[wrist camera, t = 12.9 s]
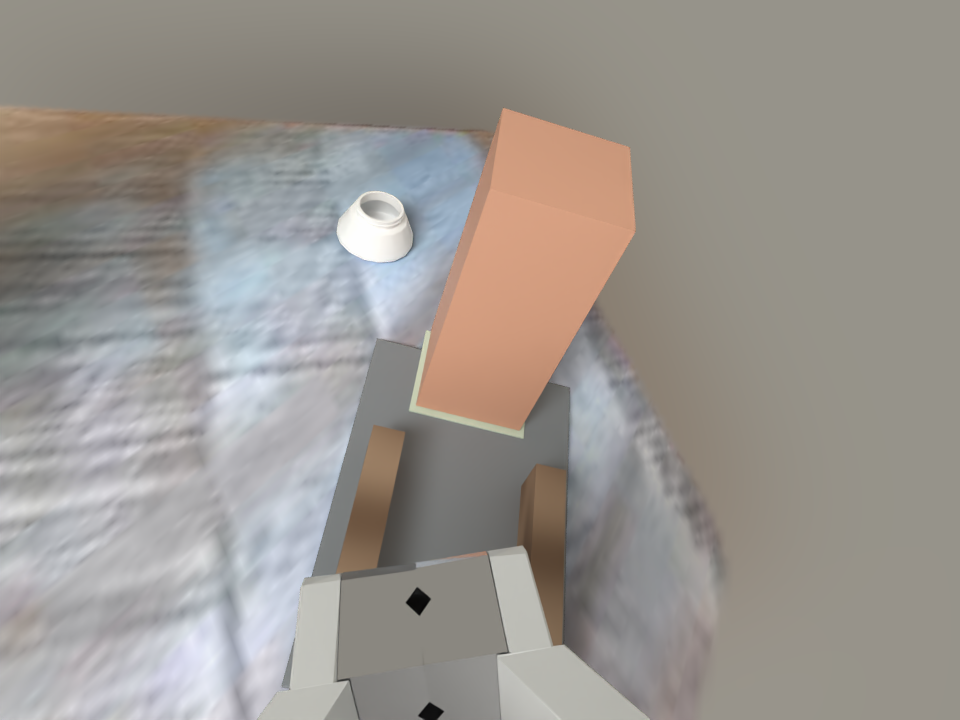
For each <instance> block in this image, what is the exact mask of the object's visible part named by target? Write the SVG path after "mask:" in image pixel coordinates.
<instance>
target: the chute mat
mask: <svg viewBox="0 0 960 720" xmlns="http://www.w3.org/2000/svg"><path fill="white" fill-rule="evenodd" d="M430 334H431V331H427V330H426V333H425V338H424V342H423V347H422V350H420V349H417V348H413V347H409V346H405V345H401V344H397V343H393V342H389V341H385V340H381V339H378V338H377V341H376V345H375V348H374V352H373V356H372V359H371V363H370V366H369V370H368V374H367V377H366V381H365V385H364V388H363V392H362V395H361V399H360V403H359V406H358V410H357V414H356V417H355V421H354V425H353V428H352V432H351V435H350V439H349V443H348V446H347V450H346V454H345V457H344V461H343V464H342V468H341V472H340V475H339V479H338V483H337V486H336V490H335V494H334V497H333V501H332V504H331V508H330V512H329V515H328V519H327V523H326V526H325V530H324V533H323V537H322V541H321V544H320V548H319V552H318V555H317V559H316V562H315V566H314V570H313V573H312V577H315V576H323V575H331V574H336V570H337V566H338V562H339V558H340V554H341V550H342V546H343V542H344V538H345V534H346V530H347V526H348V522H349V518H350V515H351V511H352V507H353V503H354V499H355V495H356V491H357V487H358V483H359V479H360V475H361V471H362V467H363V463H364V459H365V455H366V451H367V447H368V444H369V440H370V436H371V432H372V429H373V425H378V426H382V427H386V428H390V429H394V430H398V431H403V432H405V437H404V441H403V446H402V451H401V456H400V460H399V465H398V470H397V474H396V479H395V484H394V489H393V493H392V498H391V503H390V507H389V512H388V517H387V521H386V526H385V531H384V536H383V540H382V545H381V550H380V554H379V559H378V564H377V568H382V567H390V566H398V565H406V564H414V563H416V562H421V561H428V560H434V559H440V558H446V557H452V556H458V555H465V554H471V553H477V552H483V551H486V553H487V551H491V550H497V549H503V548H510V547H516V546H517V537H518V524H519V510H520V497H521V486H522V484H523V483H524V481H525V480H526V478H527V477H528V475H529V474H530V472H531V471H532V469H533V468H534V466H535V465H536V463H537V464H541V465H545V466H549V467H554V468H558V469H562V470H566V502H565V543H564V583H563V624H562V645H564V611H565V568H566V524H567V481H568V438H569V394H570V388H569V387H565V386H561V385H557V384H553V383H549V382H548V383H547V384H546V386H545V388H544V390H543V391H542V393H541V395H540V396H539V398H538V400H537V402H536V403H535V405H534V407H533V408H532V410H531V412H530V414H529V415H528V417H527V419H526V420H525V422H524V424H523V426H522V427H521V429H520V431H518V430H514V429H510V428H506V427H502V426H498V425H494V424H490V423H486V422H481V421H477V420H473V419H469V418H465V417H461V416H457V415H453V414H449V413H445V412H441V411H437V410H432V409H428V408H424V407H420V406H416V402H417V397H418V392H419V388H420V383H421V378H422V373H423V368H424V363H425V359H426V354H427V349H428V344H429V339H430ZM294 642H295V639H294ZM294 642H293V646H292V650H291V653H290V657H289V661H288V664H287V668H286V671H285V675H284V679H283V682H282V687H283V688H290V679H291V670H292V661H293V652H294Z"/></svg>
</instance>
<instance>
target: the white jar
mask: <svg viewBox="0 0 960 720" xmlns="http://www.w3.org/2000/svg"><path fill="white" fill-rule="evenodd" d="M336 233H337V236H338V238H339V241H340V243H341V244H342V245H343V246H344V247H345V248H346V249H347V250H348V251H349V252H350V253H351V254H353V255H355V256H357V257H359V258H361V259H363V260H368V261H373V262H378V263H381V262H392V261H395V260H397V259H400V258H402V257H404V256H405V255H406V254H407V253H408V251H409V250H410V249H411V247H412V242H413V232H412V229H411V226H410V224H409V221H408V218H407V216H406V214H405V212H404V207H403V205H402V203H401V202H400V201H399V200H398V199H397V198H396V197H394V196H393V195H391V194H389V193H386V192H381V191H369V192H366V193H364V194H362V195H361V196H360V197H359V198H358V199H357V200H356V201H355V202H354V203H353V204H352V205H351V206H350V207H349V209H348V210H347V211H346V212H345V213H344V214H343V215H342V216H341V217H340V218H339V221H338V226H337V232H336Z"/></svg>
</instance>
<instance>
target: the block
mask: <svg viewBox="0 0 960 720" xmlns="http://www.w3.org/2000/svg"><path fill="white" fill-rule="evenodd" d="M635 232H636V228H635V214H634V199H633V186H632V171H631V157H630V147H627V146H624V145H621V144H618V143H615V142H611V141H608V140H605V139H601V138H598V137H595V136H592V135H589V134H586V133H583V132H579V131H576V130H573V129H570V128H566V127H563V126H560V125H557V124H554V123H550V122H547V121H544V120H541V119H537V118H534V117H531V116H528V115H525V114H522V113H518V112H515V111H512V110H508V109H506V108H503V110H502V113H501V116H500V119H499V122H498V125H497V128H496V131H495V134H494V137H493V140H492V143H491V146H490V150H489V153H488V156H487V159H486V162H485V165H484V168H483V171H482V174H481V177H480V180H479V183H478V187H477V190H476V193H475V196H474V199H473V202H472V205H471V208H470V211H469V214H468V217H467V220H466V224H465V227H464V230H463V233H462V236H461V239H460V242H459V245H458V248H457V251H456V254H455V257H454V261H453V264H452V267H451V270H450V273H449V276H448V279H447V282H446V285H445V288H444V291H443V295H442V298H441V301H440V304H439V307H438V310H437V313H436V316H435V319H434V322H433V325H432V330H431V334H430V339H429V344H428V349H427V354H426V359H425V363H424V368H423V373H422V378H421V383H420V388H419V392H418V397H417V402H416V406H420V407H424V408H428V409H432V410H437V411H441V412H445V413H449V414H453V415H457V416H461V417H465V418H469V419H473V420H477V421H481V422H486V423H490V424H494V425H498V426H502V427H506V428H510V429H514V430H518V431H520V429H521V427H522V426H523V424H524V422H525V420H526V419H527V417H528V415H529V414H530V412H531V410H532V408H533V407H534V405H535V403H536V402H537V400H538V398H539V396H540V395H541V393H542V391H543V390H544V388H545V386H546V384H547V383H548V381H549V379H550V378H551V376H552V374H553V372H554V371H555V369H556V367H557V366H558V364H559V362H560V360H561V359H562V357H563V355H564V354H565V352H566V350H567V348H568V347H569V345H570V343H571V342H572V340H573V338H574V337H575V335H576V333H577V331H578V330H579V328H580V326H581V325H582V323H583V321H584V319H585V318H586V316H587V314H588V313H589V311H590V309H591V307H592V306H593V304H594V302H595V301H596V299H597V297H598V295H599V294H600V292H601V290H602V288H603V287H604V285H605V283H606V282H607V280H608V278H609V277H610V275H611V273H612V271H613V270H614V268H615V266H616V265H617V263H618V261H619V259H620V258H621V256H622V254H623V253H624V251H625V249H626V247H627V246H628V244H629V242H630V241H631V239H632V237H633V235H634V234H635Z"/></svg>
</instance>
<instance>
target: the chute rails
mask: <svg viewBox="0 0 960 720" xmlns="http://www.w3.org/2000/svg"><path fill="white" fill-rule="evenodd" d="M404 437H405V432H403V431H398V430H394V429H390V428H386V427H382V426H378V425H373V429H372V432H371V436H370V440H369V444H368V447H367V451H366V455H365V459H364V463H363V467H362V471H361V475H360V479H359V483H358V487H357V491H356V495H355V499H354V503H353V507H352V511H351V515H350V518H349V522H348V526H347V530H346V534H345V538H344V542H343V546H342V550H341V554H340V558H339V562H338V566H337V570H336V574H339V573H343V572H350V571H358V570H366V569H374V568H377V564H378V559H379V554H380V550H381V545H382V540H383V536H384V531H385V526H386V521H387V517H388V512H389V507H390V503H391V498H392V493H393V489H394V484H395V479H396V474H397V470H398V465H399V460H400V456H401V451H402V446H403V441H404ZM565 502H566V470H562V469H558V468H554V467H549V466H545V465H541V464H537V463H536V465H535V466H534V468H533V469H532V471H531V472H530V474H529V475H528V477H527V478H526V480H525V481H524V483H523V484H522V486H521V497H520V510H519V524H518V537H517V546H523V547H524V548H525V549H526V551H527V554H528V558H529V561H530V565H531V568H532V572H533V575H534V579H535V583H536V586H537V590H538V593H539V597H540V600H541V604H542V607H543V611H544V615H545V618H546V622H547V625H548V629H549V632H550V636H551V639H552V643H553V646H557V645H562V624H563V583H564V543H565Z"/></svg>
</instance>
